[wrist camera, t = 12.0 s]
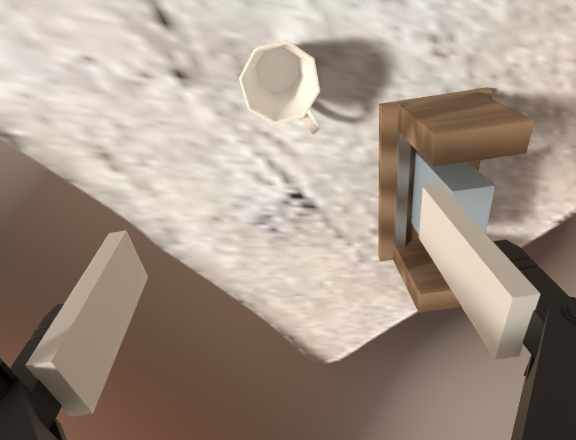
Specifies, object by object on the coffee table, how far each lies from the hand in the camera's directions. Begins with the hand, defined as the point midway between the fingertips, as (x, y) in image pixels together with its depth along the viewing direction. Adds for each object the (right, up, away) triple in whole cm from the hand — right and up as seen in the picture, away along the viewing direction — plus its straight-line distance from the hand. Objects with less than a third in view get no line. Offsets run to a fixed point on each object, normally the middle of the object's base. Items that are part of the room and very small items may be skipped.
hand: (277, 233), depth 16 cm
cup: (0, +16, +22) cm, 27 cm away
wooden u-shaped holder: (+18, +5, +30) cm, 35 cm away
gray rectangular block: (+18, +5, +29) cm, 34 cm away
